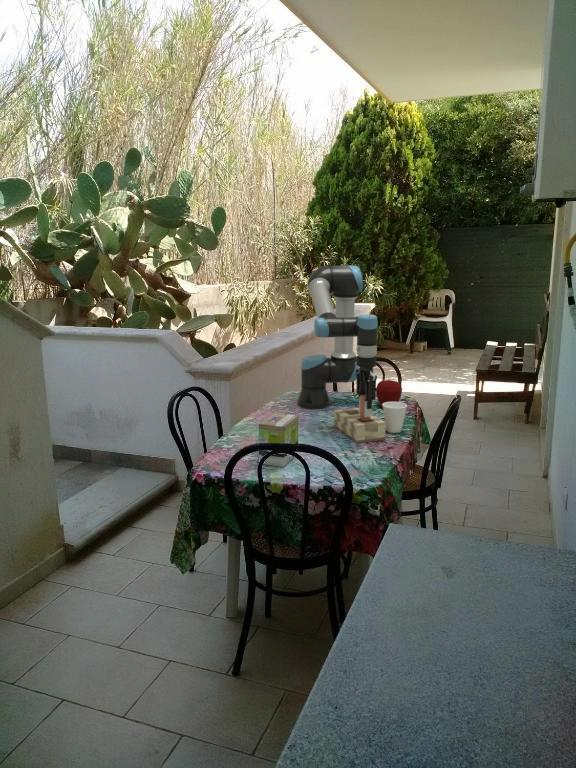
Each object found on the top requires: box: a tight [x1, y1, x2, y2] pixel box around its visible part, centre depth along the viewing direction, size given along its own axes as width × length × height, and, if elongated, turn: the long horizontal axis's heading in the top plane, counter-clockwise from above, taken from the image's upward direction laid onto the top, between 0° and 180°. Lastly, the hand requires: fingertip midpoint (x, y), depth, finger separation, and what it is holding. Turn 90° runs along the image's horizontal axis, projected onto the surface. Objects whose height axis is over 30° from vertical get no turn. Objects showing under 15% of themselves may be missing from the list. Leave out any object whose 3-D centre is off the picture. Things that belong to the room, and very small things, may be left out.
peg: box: [360, 394, 370, 423], centre depth 227 cm, size 4×4×12 cm
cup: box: [381, 401, 408, 434], centre depth 236 cm, size 10×10×11 cm
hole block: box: [333, 407, 386, 444], centre depth 234 cm, size 22×12×7 cm, turn 19°
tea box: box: [258, 412, 299, 468], centre depth 206 cm, size 15×10×15 cm
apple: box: [376, 379, 403, 406], centre depth 271 cm, size 12×12×13 cm
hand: (365, 414), depth 228 cm, fingers closed on peg, 4 cm apart
